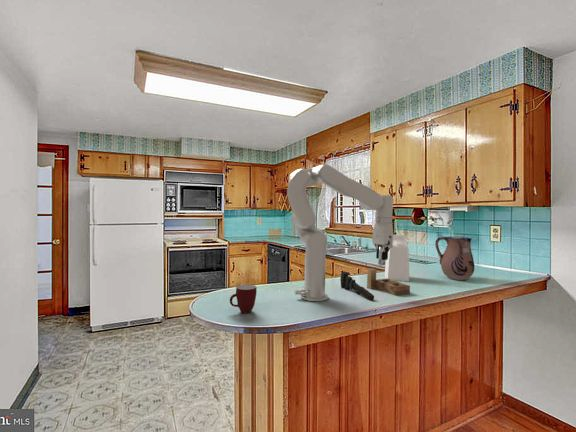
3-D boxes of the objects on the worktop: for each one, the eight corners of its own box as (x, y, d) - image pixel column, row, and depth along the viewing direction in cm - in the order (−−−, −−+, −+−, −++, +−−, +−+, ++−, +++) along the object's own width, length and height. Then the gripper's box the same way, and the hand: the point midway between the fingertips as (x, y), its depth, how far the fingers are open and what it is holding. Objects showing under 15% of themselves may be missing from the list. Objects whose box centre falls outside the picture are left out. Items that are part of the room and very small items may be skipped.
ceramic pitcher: (477, 283, 181) (479, 239, 180) (436, 280, 187) (438, 237, 186) (470, 276, 197) (471, 236, 196) (432, 274, 204) (434, 235, 203)
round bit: (381, 265, 151) (382, 244, 151) (376, 263, 154) (377, 243, 154) (386, 264, 153) (387, 244, 152) (382, 263, 156) (383, 243, 155)
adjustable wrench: (367, 310, 146) (339, 286, 168) (372, 310, 147) (343, 285, 169) (370, 293, 144) (341, 271, 166) (375, 293, 145) (345, 271, 167)
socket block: (409, 293, 157) (409, 285, 157) (395, 295, 153) (395, 287, 153) (387, 285, 172) (388, 278, 172) (374, 287, 168) (374, 279, 168)
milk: (404, 276, 195) (406, 234, 194) (409, 281, 184) (410, 236, 183) (384, 275, 197) (385, 233, 196) (387, 279, 186) (389, 235, 185)
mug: (233, 317, 121) (233, 291, 120) (227, 311, 128) (227, 286, 127) (259, 313, 125) (259, 288, 125) (251, 307, 133) (252, 283, 132)
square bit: (370, 289, 164) (371, 270, 164) (367, 287, 167) (367, 268, 167) (375, 288, 165) (376, 269, 165) (372, 287, 168) (372, 268, 168)
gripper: (366, 219, 159) (365, 256, 159) (389, 222, 144) (387, 262, 144) (378, 220, 162) (377, 256, 162) (402, 222, 147) (400, 261, 147)
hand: (381, 258), depth 153 cm, fingers closed on round bit, 3 cm apart
